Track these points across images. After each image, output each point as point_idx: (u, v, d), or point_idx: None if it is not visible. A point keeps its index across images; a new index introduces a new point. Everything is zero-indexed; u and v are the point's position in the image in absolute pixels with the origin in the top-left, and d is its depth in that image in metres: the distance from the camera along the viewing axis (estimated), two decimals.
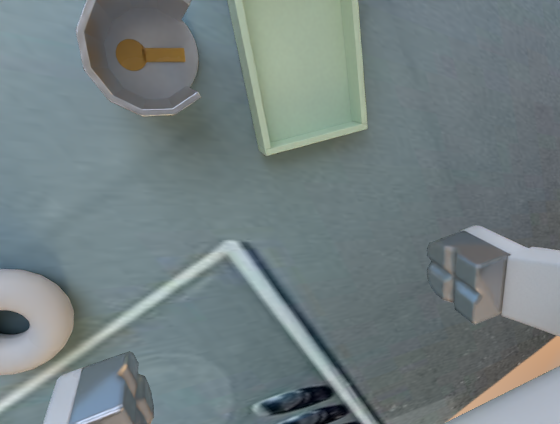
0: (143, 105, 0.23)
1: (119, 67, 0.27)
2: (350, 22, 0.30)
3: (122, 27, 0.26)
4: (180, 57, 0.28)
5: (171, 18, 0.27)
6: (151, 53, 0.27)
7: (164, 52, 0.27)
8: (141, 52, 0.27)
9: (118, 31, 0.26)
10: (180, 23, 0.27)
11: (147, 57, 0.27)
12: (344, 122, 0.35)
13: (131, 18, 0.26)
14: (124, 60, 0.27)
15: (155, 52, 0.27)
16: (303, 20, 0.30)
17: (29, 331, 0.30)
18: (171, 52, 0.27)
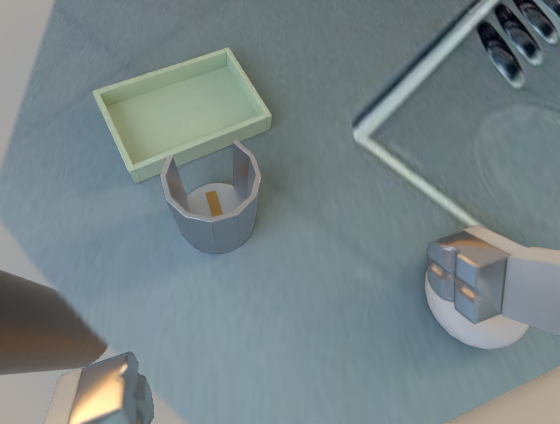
0: None
1: None
2: (153, 79, 0.38)
3: None
4: (213, 194, 0.34)
5: (186, 206, 0.34)
6: (216, 214, 0.34)
7: (212, 205, 0.34)
8: None
9: None
10: (188, 199, 0.34)
11: None
12: (229, 70, 0.41)
13: None
14: None
15: (214, 211, 0.34)
16: (161, 116, 0.38)
17: None
18: (211, 200, 0.34)
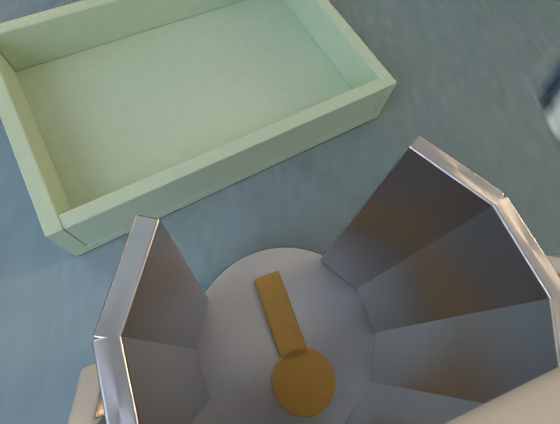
0: (466, 316, 0.08)
1: (334, 401, 0.12)
2: (120, 10, 0.17)
3: (254, 412, 0.12)
4: (274, 281, 0.13)
5: (206, 316, 0.13)
6: (286, 340, 0.13)
7: (275, 314, 0.13)
8: (291, 361, 0.12)
9: (265, 419, 0.12)
10: (210, 297, 0.13)
11: (297, 347, 0.13)
12: None
13: (231, 397, 0.12)
14: (320, 393, 0.12)
15: (281, 332, 0.13)
16: (140, 93, 0.17)
17: None
18: (270, 301, 0.13)
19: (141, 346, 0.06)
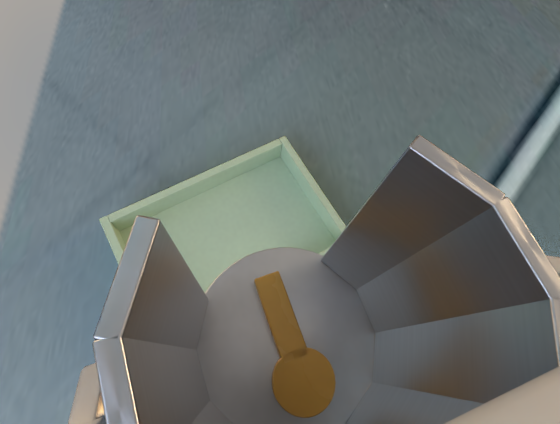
0: (466, 316, 0.08)
1: (335, 401, 0.12)
2: (183, 192, 0.27)
3: (254, 413, 0.12)
4: (274, 281, 0.13)
5: (206, 317, 0.13)
6: (286, 340, 0.13)
7: (275, 315, 0.13)
8: (291, 361, 0.12)
9: (265, 419, 0.12)
10: (210, 297, 0.13)
11: (297, 347, 0.13)
12: (284, 163, 0.30)
13: (231, 397, 0.12)
14: (320, 394, 0.12)
15: (281, 333, 0.13)
16: (196, 243, 0.27)
17: None
18: (270, 301, 0.13)
19: (141, 347, 0.06)
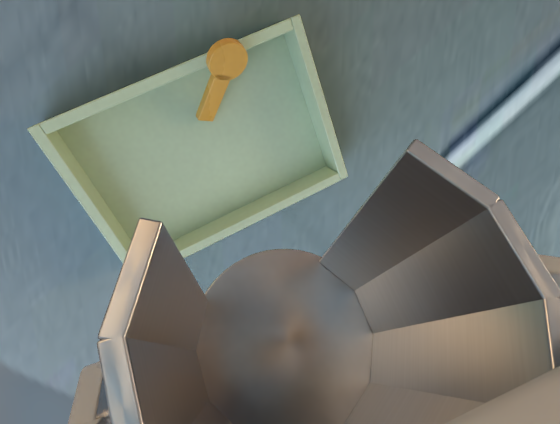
0: (462, 316, 0.08)
1: (333, 401, 0.13)
2: None
3: (254, 413, 0.12)
4: None
5: (205, 318, 0.13)
6: None
7: None
8: None
9: (264, 419, 0.12)
10: (209, 299, 0.13)
11: None
12: (286, 46, 0.22)
13: (230, 398, 0.12)
14: None
15: None
16: (165, 152, 0.22)
17: None
18: None
19: (144, 347, 0.06)
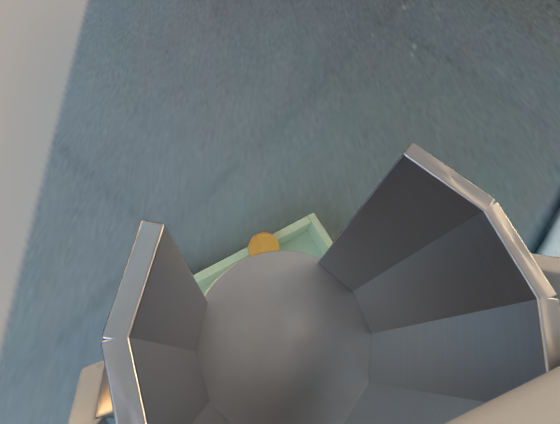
0: (459, 317, 0.08)
1: (332, 401, 0.13)
2: (206, 279, 0.25)
3: (253, 413, 0.12)
4: None
5: (205, 319, 0.13)
6: None
7: None
8: None
9: (264, 420, 0.12)
10: (209, 300, 0.14)
11: None
12: (311, 239, 0.28)
13: (230, 398, 0.12)
14: None
15: None
16: None
17: None
18: None
19: (146, 347, 0.06)
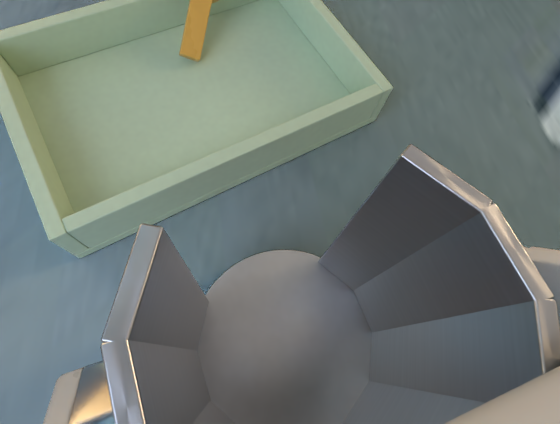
0: (458, 317, 0.08)
1: (333, 400, 0.13)
2: (121, 16, 0.17)
3: (254, 411, 0.12)
4: None
5: (206, 318, 0.13)
6: None
7: None
8: None
9: (265, 418, 0.12)
10: (210, 299, 0.14)
11: None
12: (279, 4, 0.20)
13: (231, 397, 0.12)
14: None
15: None
16: (141, 97, 0.17)
17: None
18: None
19: (146, 349, 0.06)
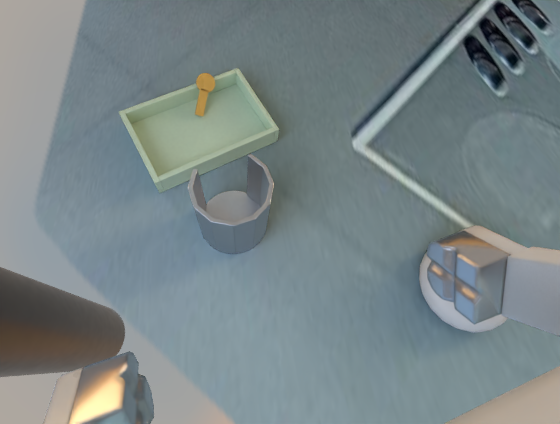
0: None
1: None
2: (171, 99, 0.42)
3: None
4: None
5: (206, 212, 0.38)
6: None
7: None
8: None
9: None
10: (207, 206, 0.39)
11: None
12: (238, 88, 0.45)
13: None
14: None
15: None
16: (179, 132, 0.42)
17: None
18: None
19: (194, 193, 0.31)
